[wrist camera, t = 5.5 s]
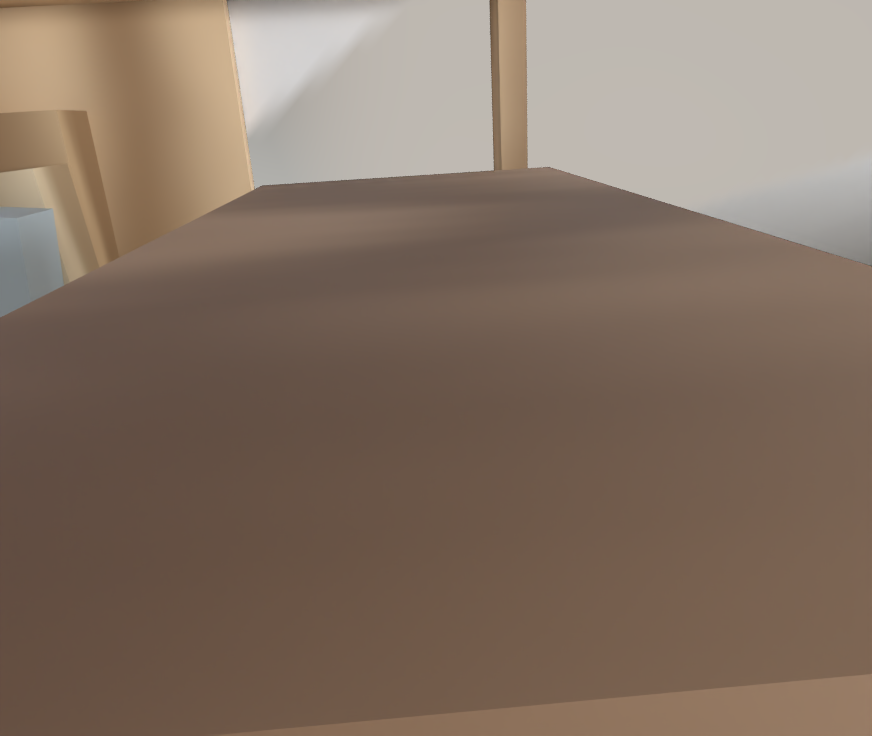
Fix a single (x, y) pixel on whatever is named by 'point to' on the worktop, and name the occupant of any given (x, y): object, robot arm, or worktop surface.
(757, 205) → the worktop surface
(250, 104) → the worktop surface
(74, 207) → the offcut
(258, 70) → the worktop surface
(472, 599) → the brown rectangular block
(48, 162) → the offcut
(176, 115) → the tray
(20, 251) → the offcut
